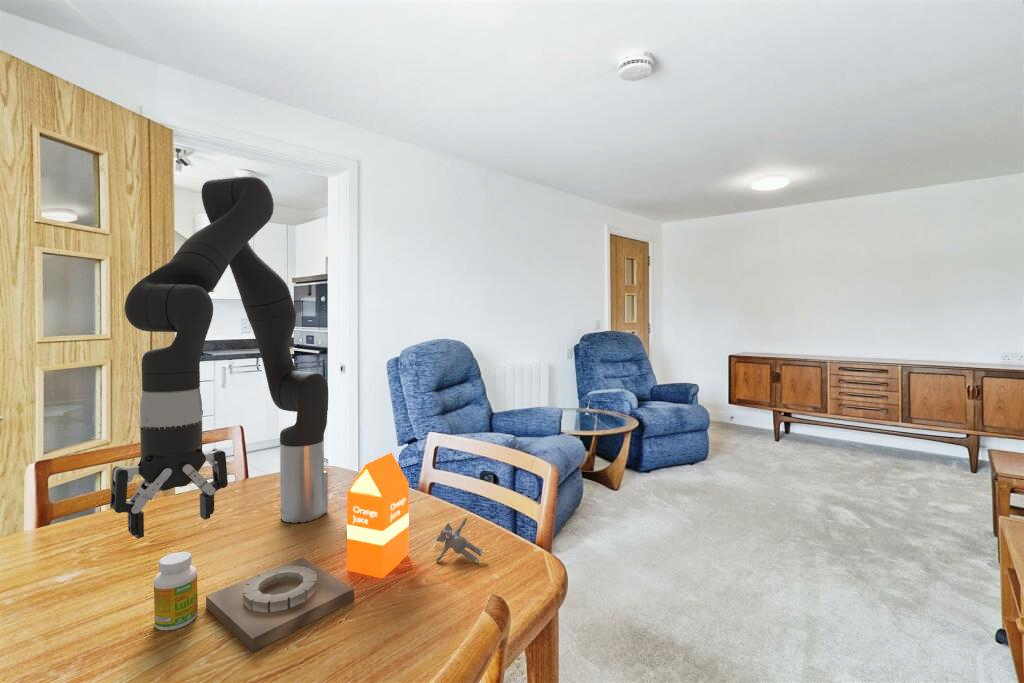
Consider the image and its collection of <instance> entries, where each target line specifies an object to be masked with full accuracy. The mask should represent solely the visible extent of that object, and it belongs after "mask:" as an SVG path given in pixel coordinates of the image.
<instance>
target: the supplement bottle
mask: <svg viewBox="0 0 1024 683" xmlns="http://www.w3.org/2000/svg"><path fill="white" fill-rule="evenodd" d="M158 570H159V572H158V574H157V575H156V576H155V577H154V579H153V606H154V626H155V628H156V629H157V630H160V631H174V630H177V629H180V628H183V627H185V626H187V625H189V624H191V623H192V622H193V621H194V620H195V619H196V618H197V616H198V613H199V612H198V611H199V605H198V604H199V603H198V602H199V601H198V596H199V594H198V569H197V568H196V567H195V566H194V565H192V554H191V553H190V552H189V551H179V552H178V551H177V552H172V553H169V554H167V555H165V556H163V557H162V558H160V559H159V561H158Z"/></svg>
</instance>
